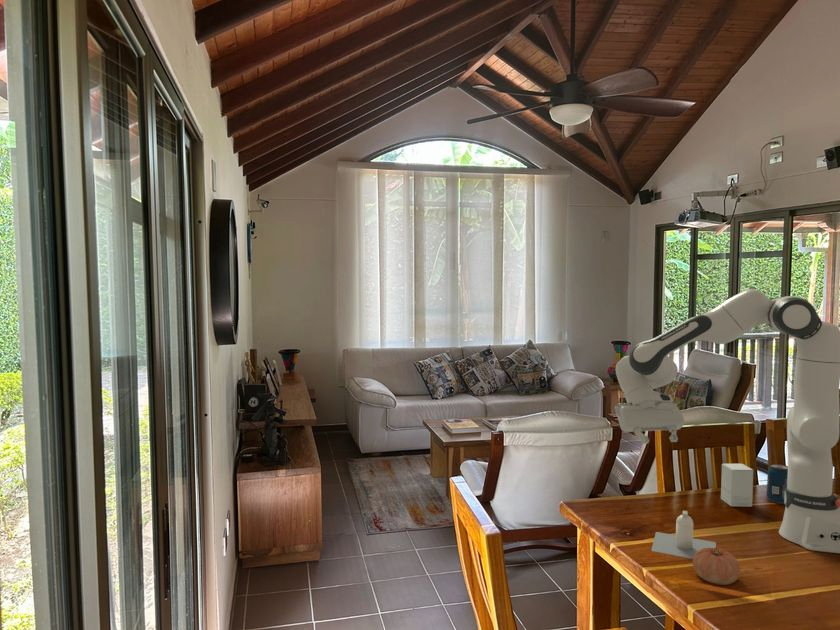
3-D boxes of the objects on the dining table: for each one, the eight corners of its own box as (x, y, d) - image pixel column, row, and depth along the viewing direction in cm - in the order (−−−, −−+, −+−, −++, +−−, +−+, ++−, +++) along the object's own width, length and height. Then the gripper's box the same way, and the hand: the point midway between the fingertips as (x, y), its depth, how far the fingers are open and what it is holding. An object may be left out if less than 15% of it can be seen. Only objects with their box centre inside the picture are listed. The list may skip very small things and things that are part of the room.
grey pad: (715, 545, 172) (715, 542, 171) (715, 566, 159) (715, 563, 159) (655, 535, 179) (655, 531, 179) (651, 554, 166) (651, 550, 166)
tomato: (686, 569, 158) (687, 539, 157) (729, 571, 157) (730, 541, 156) (701, 590, 147) (702, 559, 146) (747, 593, 146) (748, 561, 145)
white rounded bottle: (692, 544, 170) (694, 511, 169) (692, 551, 166) (693, 516, 165) (676, 541, 172) (677, 508, 171) (675, 548, 168) (676, 513, 167)
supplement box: (752, 507, 201) (754, 469, 200) (730, 506, 201) (731, 469, 200) (741, 498, 208) (742, 463, 207) (720, 498, 208) (721, 462, 208)
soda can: (770, 495, 212) (771, 461, 211) (792, 500, 207) (794, 466, 206) (763, 500, 207) (764, 465, 206) (786, 505, 202) (787, 470, 201)
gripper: (616, 398, 184) (633, 438, 175) (676, 395, 188) (695, 434, 179) (608, 409, 188) (624, 448, 179) (667, 407, 192) (685, 445, 184)
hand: (660, 441), depth 179 cm, fingers open, 8 cm apart
